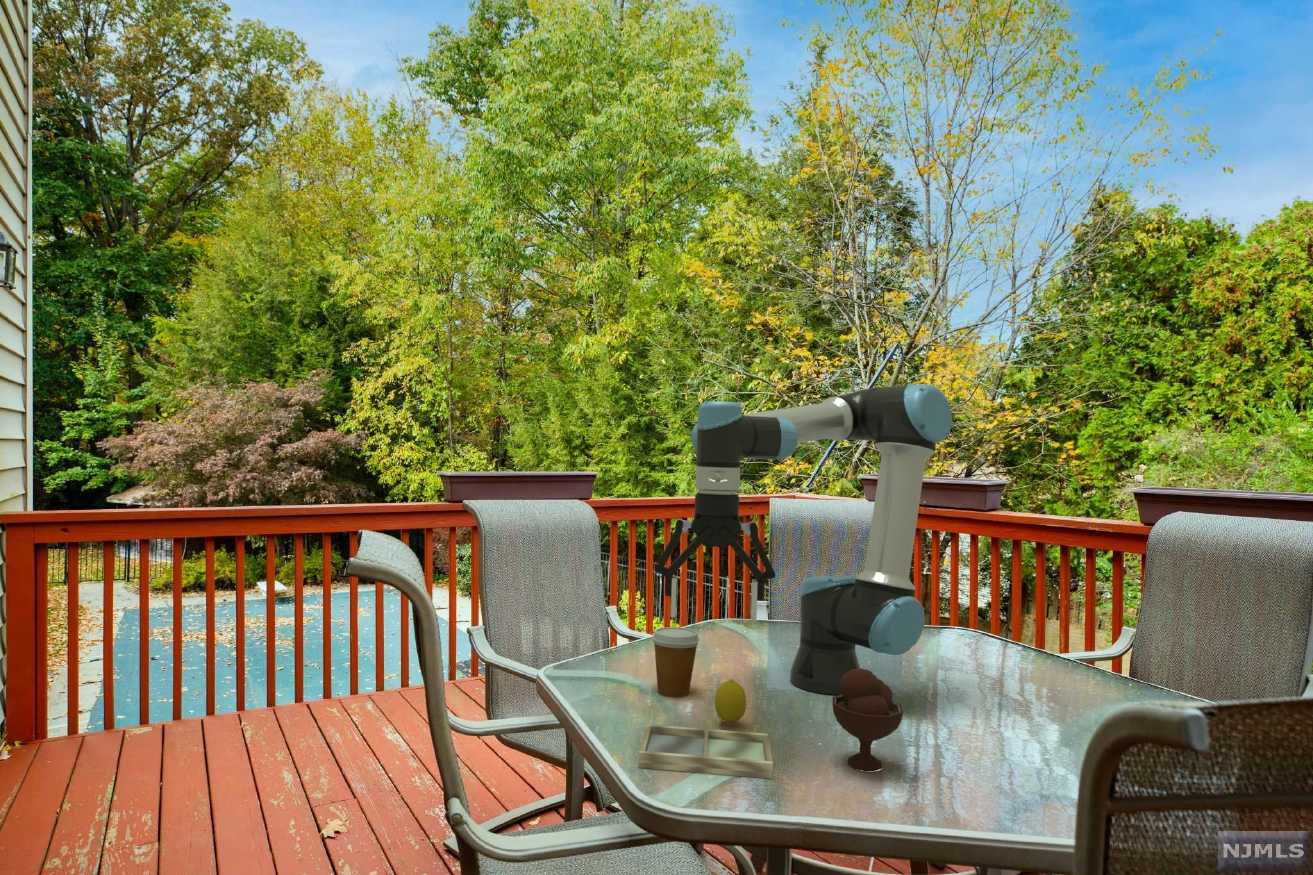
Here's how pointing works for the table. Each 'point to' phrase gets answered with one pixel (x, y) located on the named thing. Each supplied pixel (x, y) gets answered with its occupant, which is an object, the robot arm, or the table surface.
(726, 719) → the lemon
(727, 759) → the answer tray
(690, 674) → the disposable coffee cup
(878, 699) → the ice cream bowl
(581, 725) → the table surface
